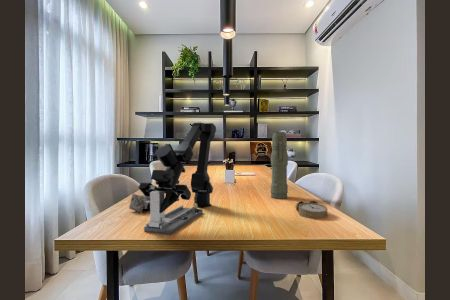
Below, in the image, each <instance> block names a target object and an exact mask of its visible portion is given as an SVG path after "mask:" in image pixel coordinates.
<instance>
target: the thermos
mask: <svg viewBox="0 0 450 300" xmlns="http://www.w3.org/2000/svg"><path fill="white" fill-rule="evenodd" d="M271 138H272V139H271V142H272V143H271V144H272V145H271V147H272V149H271V154H270V166H271V184H270V198H271V199H274V200H286V199H288V193H289V192H288V191H289V190H288V183H287V182H288V181H287V180H288V177H287V176H288V174H287V173H288V163H289V158H288V157H289V155H288V152H287V151H288V149H287V147H288V140H287V139H288V137H287V134H286V133H285V132H284V131H276V132H275V131H274V133H273V134H272V137H271Z"/></svg>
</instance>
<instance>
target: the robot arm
mask: <svg viewBox="0 0 450 300" xmlns="http://www.w3.org/2000/svg"><path fill="white" fill-rule="evenodd" d="M216 132H217V127H216V125H215V124H214V123H213V122H193V123H192V124H191V128H190V129H189V131H188V132H187V134H186V136H185V137H184V139H183V141H182V142H181V143H179V144H177V145H176V146H175V147H174V148H173V146H172V145H171V143H165V144H164V145H163V146H161V147H159V148H158V149H156V151H155V156H156V158H157V159H158V160H159V162H160V163H161V164H162V166H163V167H165V168H166V169H165V170H163V169H152V172H151V177H150V180H154V181H155V185H153V183H152V182H145V181H143V182H140V184H139V185H138V189H139V190H140V192H141V193H142V195H145V196H147V197H150V192H153V191H164V194H165V195H164V201H163V203H162V205H161V207H160V210H159V212H160V213H162V212H163V211H166V210H167V209H168V208H169V207H170V206H172V205H173V204H174V203H176V202H178V201H180V199H181V200H182V201H183V200H185V201H189V200H190V199H191V196H192V193H194V196H193V198H194V200H193V201H194V202H193V206H194V204H195V203H197V208H199V209H200V208H201V209H202V208H207V207H211V206H212V203H211V198H210V197H211V196H210V194H212V193H213V192H214V191H213V190H214V188H213V185H212V183H211V181H210V180H211V177H210V176H209V173H208V167H209V157H210V151H211V150H210V148H211V142H212V141H213V139H214V138H215V135H216ZM198 140H199V147H198V149H199V150H198V157H197V163H196V164H197V166H196V171H195V172H193V173H192V174H191V179H190V188H191V190H190V189H189V187H188V185H187V184H180V180H179V179H180V177H181V174H182V173H186V169H185V166H184V165H183V164H186V163H187V164H188V163H191V160H192V158H193V155H194V151H193V150H194V147H195V145H197V142H198ZM156 185H157V186H156ZM148 211H149V212H150V205H149V209H148Z"/></svg>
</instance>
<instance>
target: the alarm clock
mask: <svg viewBox="0 0 450 300" xmlns="http://www.w3.org/2000/svg"><path fill="white" fill-rule="evenodd" d="M295 209H296V211H297V212H298V215H299V216H301V217H303V218H306V219H312V220H314V219H315V220H323V219H326V218H327V217H329V216H330V215H329V214H328V207H327V206H325V205H323V204H320V203H318V202H317V201H315V200H310V201H309V202H305V201H303V200H299V201H297V202H296V203H295Z"/></svg>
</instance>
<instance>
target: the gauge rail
mask: <svg viewBox="0 0 450 300" xmlns="http://www.w3.org/2000/svg"><path fill="white" fill-rule="evenodd" d="M193 204H194V203H193ZM203 212H204V211H203V209H202V208H201V209H200V208H198V207H197V203H195V204H194V205H193V206H192V207H184V205H180V206H178V207H176V208H174V209H172V210H169V211H168V212H166V213H165V218H171V224H169V222H166V223H164V224H162V225H160V227H159V228H158V227H151V226H149V221H148V222H146V223H145V226H144V229H143V230H144V232H147V233H153V234H162V235H169V236H171V235H172V234H174V233H176V232H177V231H178V230H180V229H181V228H183V227H184V226H185V225H187V224H189V223H191V222H192V221H193V220H194V219H196V218H197V217H199V216H200V215H202V214H203Z"/></svg>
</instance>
